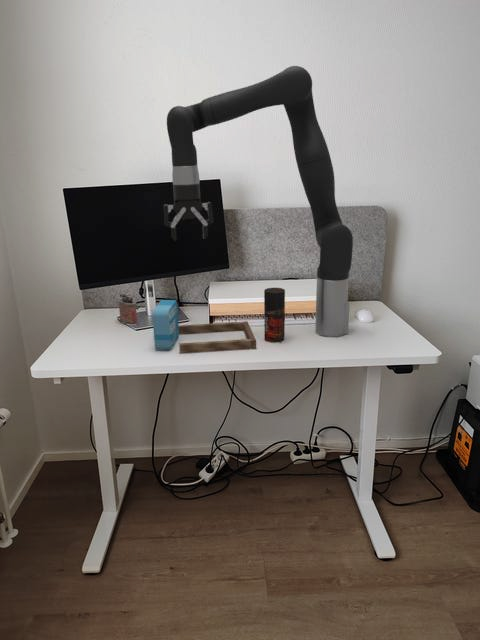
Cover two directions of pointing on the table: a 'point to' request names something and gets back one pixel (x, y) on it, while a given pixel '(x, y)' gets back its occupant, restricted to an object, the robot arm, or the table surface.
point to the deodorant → (274, 315)
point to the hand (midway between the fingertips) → (190, 239)
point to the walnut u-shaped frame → (217, 345)
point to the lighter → (127, 309)
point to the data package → (165, 324)
